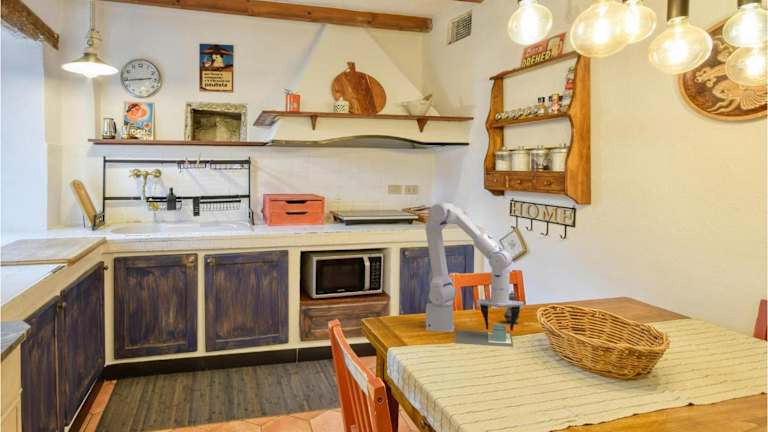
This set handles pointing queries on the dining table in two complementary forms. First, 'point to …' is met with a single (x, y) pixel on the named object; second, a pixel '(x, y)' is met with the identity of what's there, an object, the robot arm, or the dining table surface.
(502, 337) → the teal block
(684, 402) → the dining table surface
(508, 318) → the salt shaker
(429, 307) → the robot arm
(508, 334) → the mat
